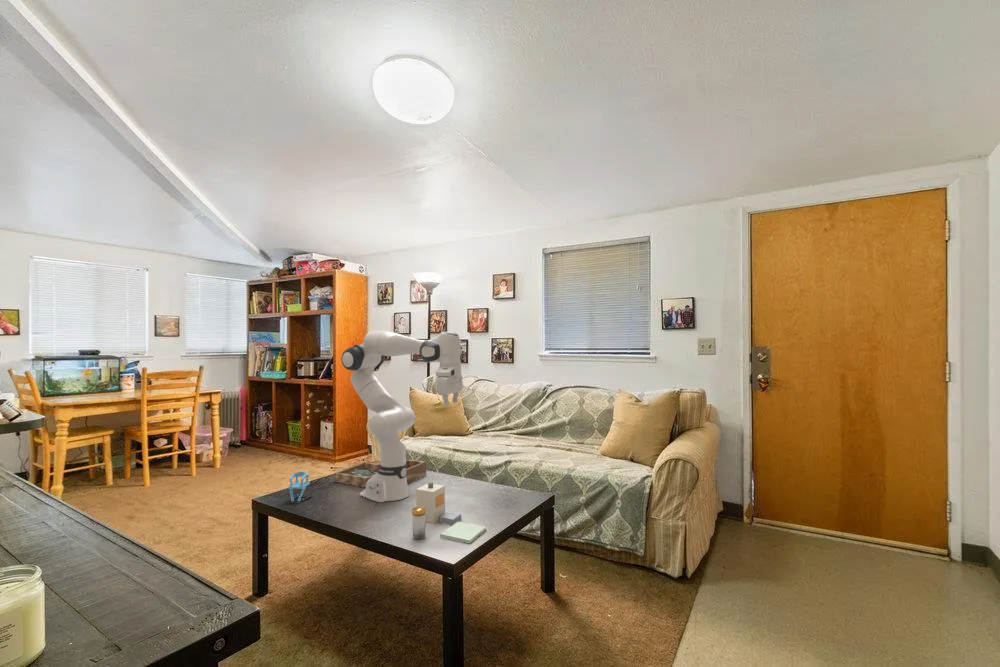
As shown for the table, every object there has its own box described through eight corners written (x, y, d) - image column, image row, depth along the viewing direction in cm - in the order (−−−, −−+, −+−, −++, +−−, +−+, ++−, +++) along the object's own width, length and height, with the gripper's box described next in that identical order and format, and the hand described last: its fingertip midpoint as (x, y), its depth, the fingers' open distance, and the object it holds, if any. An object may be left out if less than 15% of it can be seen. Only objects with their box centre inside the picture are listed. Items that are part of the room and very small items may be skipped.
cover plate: (439, 523, 173) (439, 516, 173) (448, 517, 179) (448, 511, 179) (453, 526, 171) (453, 519, 171) (461, 520, 176) (461, 513, 176)
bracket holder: (385, 482, 222) (384, 468, 222) (408, 472, 238) (408, 459, 238) (403, 486, 217) (403, 471, 217) (426, 475, 233) (426, 461, 233)
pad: (440, 537, 160) (440, 534, 160) (457, 524, 171) (457, 521, 171) (469, 543, 155) (469, 540, 155) (486, 530, 166) (485, 527, 166)
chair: (285, 504, 194) (285, 476, 194) (295, 497, 203) (295, 470, 203) (303, 504, 194) (302, 476, 194) (312, 497, 202) (312, 470, 202)
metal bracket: (362, 473, 219) (348, 467, 230) (359, 485, 218) (345, 478, 229) (387, 475, 229) (373, 469, 240) (384, 487, 227) (370, 480, 238)
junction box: (416, 520, 176) (416, 484, 176) (428, 512, 183) (428, 479, 183) (434, 523, 172) (434, 487, 172) (445, 516, 179) (445, 481, 179)
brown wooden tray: (334, 482, 224) (334, 472, 224) (364, 470, 243) (364, 462, 243) (367, 488, 214) (367, 478, 214) (396, 475, 233) (396, 466, 234)
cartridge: (409, 538, 159) (409, 510, 160) (417, 533, 164) (417, 505, 164) (420, 541, 157) (420, 512, 158) (428, 535, 162) (427, 507, 162)
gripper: (452, 368, 199) (453, 400, 198) (433, 372, 179) (434, 407, 179) (466, 368, 197) (466, 400, 197) (448, 372, 177) (448, 407, 177)
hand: (450, 403), depth 188 cm, fingers open, 8 cm apart
